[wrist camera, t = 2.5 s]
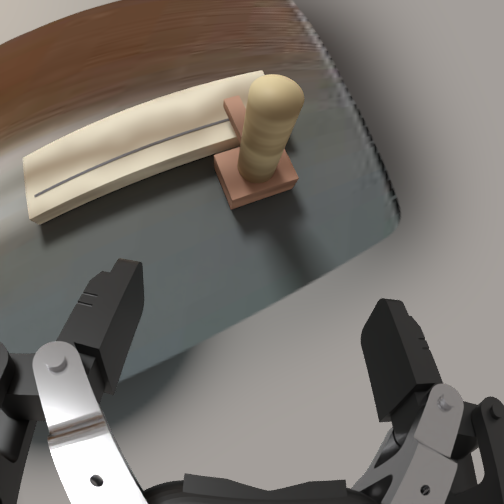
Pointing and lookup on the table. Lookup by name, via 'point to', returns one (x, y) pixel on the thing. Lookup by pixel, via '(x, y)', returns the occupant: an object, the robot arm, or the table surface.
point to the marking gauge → (260, 141)
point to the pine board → (132, 146)
